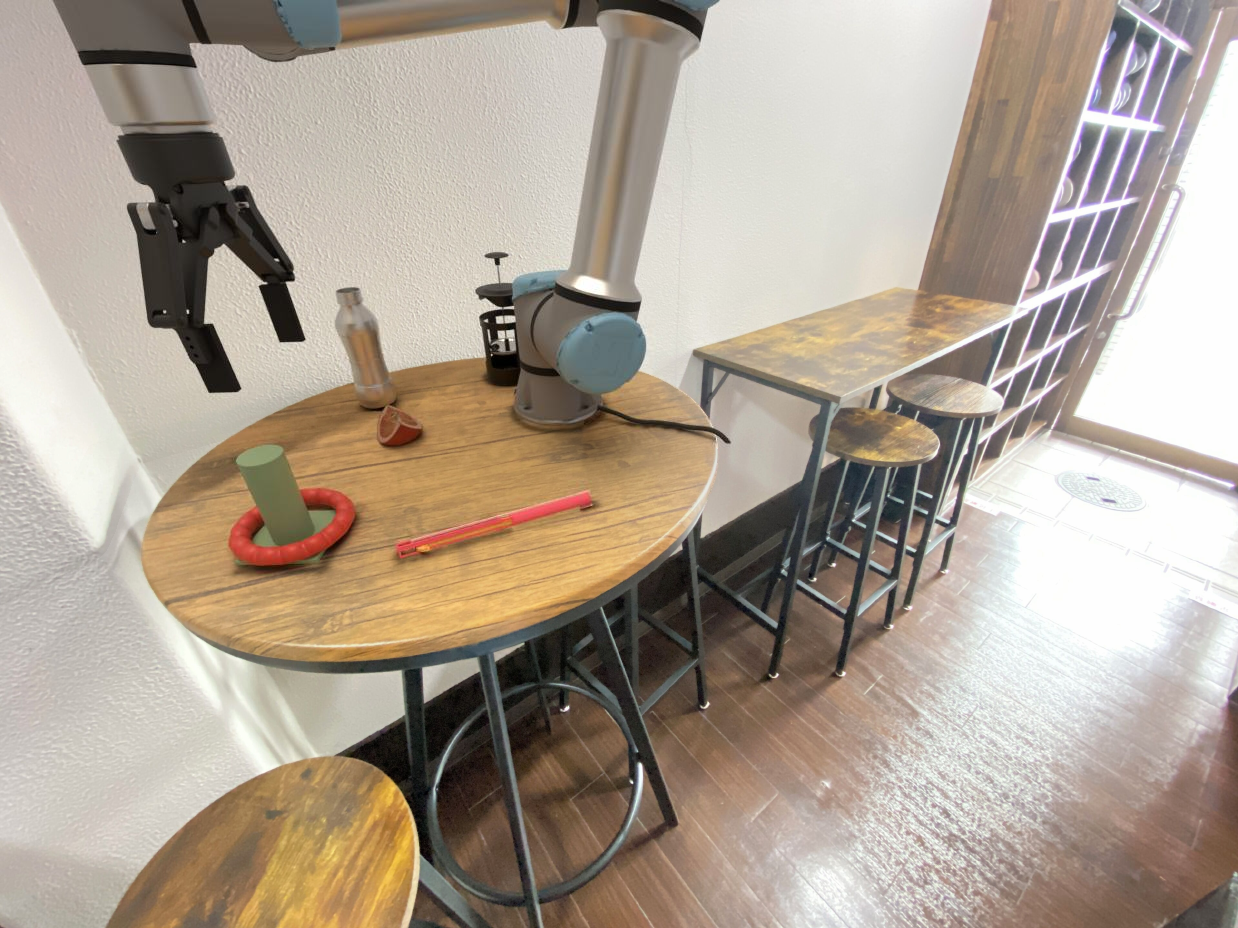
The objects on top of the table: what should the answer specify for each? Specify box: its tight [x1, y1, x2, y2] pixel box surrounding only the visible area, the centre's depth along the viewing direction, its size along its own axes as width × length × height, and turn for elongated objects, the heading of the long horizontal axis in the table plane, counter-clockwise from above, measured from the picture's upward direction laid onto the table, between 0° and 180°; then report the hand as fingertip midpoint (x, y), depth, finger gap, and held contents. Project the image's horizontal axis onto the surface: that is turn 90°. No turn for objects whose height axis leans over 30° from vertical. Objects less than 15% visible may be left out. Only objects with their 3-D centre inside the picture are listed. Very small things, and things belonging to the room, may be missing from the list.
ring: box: [228, 487, 356, 567], centre depth 63 cm, size 13×13×2 cm
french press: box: [474, 251, 521, 387], centre depth 99 cm, size 12×9×23 cm
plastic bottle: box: [334, 286, 397, 409], centre depth 89 cm, size 6×7×20 cm
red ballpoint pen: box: [395, 489, 593, 559], centre depth 65 cm, size 24×2×5 cm
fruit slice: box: [376, 404, 424, 447], centre depth 83 cm, size 8×7×5 cm
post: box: [233, 444, 336, 566], centre depth 60 cm, size 9×9×12 cm
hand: (262, 364), depth 57 cm, fingers open, 13 cm apart
